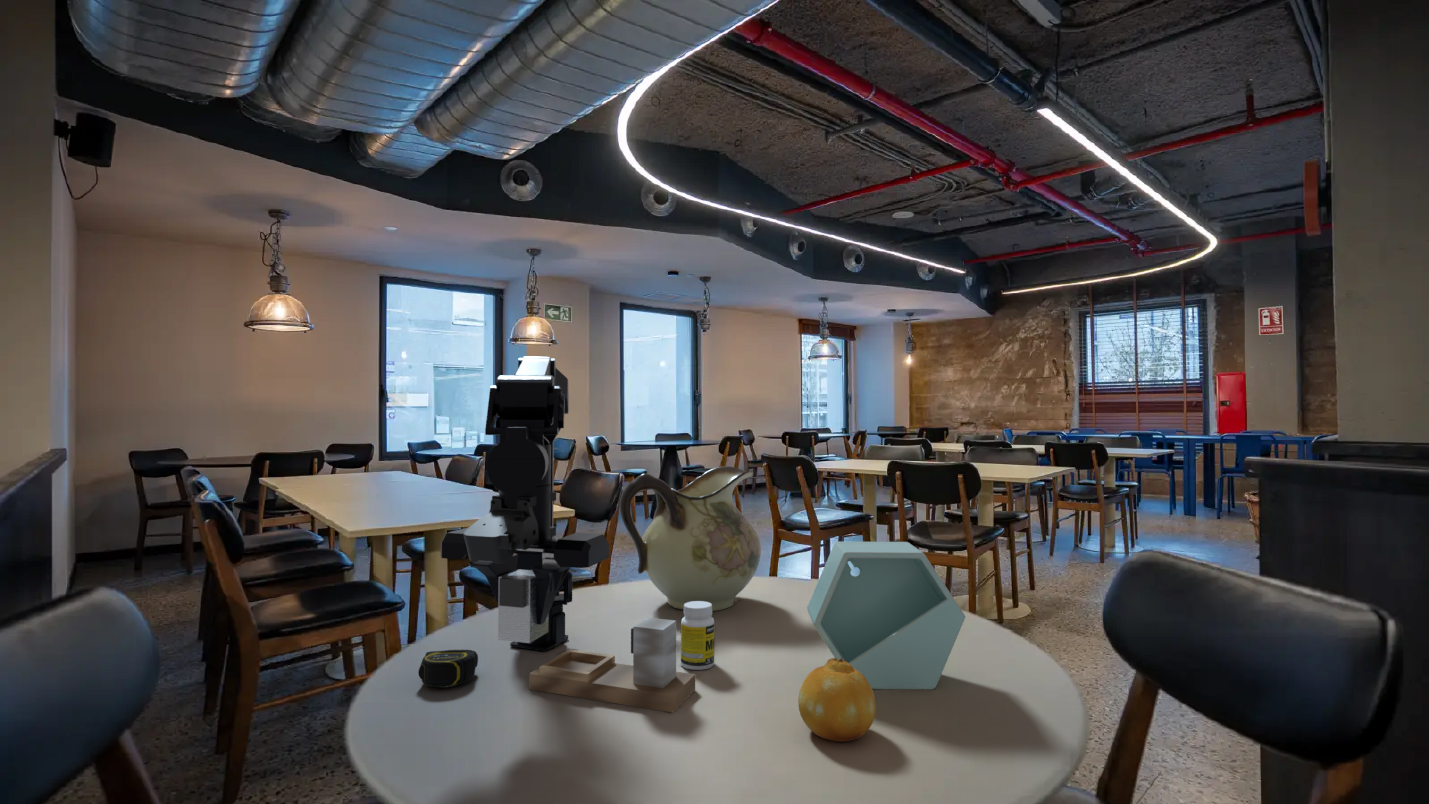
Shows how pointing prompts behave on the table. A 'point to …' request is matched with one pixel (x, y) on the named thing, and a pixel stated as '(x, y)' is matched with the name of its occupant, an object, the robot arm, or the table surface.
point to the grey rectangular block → (519, 608)
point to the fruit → (837, 702)
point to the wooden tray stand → (623, 672)
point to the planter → (886, 614)
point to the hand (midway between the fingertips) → (524, 622)
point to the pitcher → (695, 538)
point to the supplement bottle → (697, 636)
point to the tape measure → (448, 667)
